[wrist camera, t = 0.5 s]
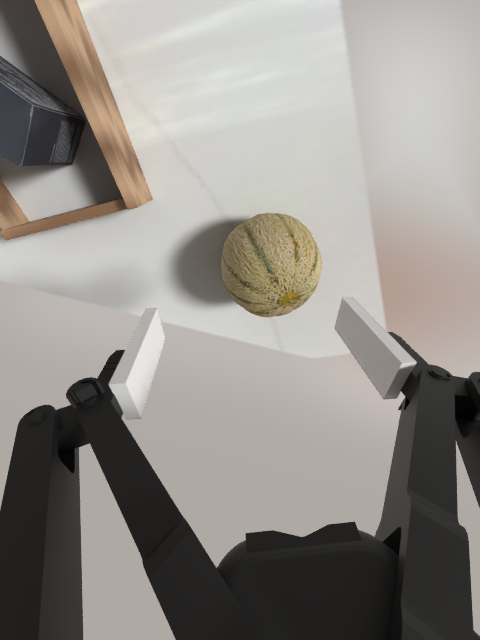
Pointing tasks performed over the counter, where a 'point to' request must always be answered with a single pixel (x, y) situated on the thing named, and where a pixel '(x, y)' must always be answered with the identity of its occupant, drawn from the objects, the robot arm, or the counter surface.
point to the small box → (35, 122)
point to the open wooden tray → (102, 115)
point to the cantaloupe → (270, 264)
